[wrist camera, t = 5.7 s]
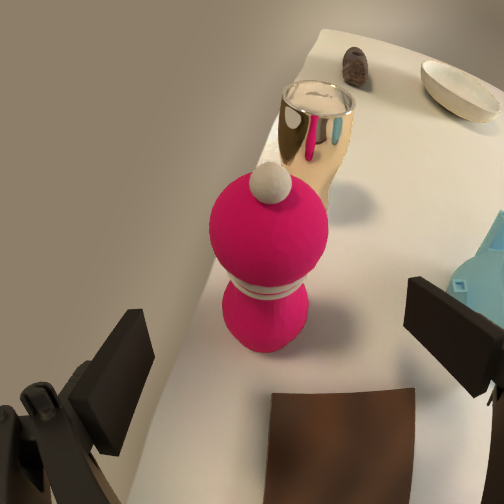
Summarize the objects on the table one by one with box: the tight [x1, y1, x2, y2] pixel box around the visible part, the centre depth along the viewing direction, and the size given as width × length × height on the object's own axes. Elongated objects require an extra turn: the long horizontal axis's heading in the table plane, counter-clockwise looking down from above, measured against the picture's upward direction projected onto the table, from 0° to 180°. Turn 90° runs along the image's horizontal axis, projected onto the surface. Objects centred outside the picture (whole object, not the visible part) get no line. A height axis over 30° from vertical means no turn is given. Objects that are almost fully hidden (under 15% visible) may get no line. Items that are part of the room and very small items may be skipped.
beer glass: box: [278, 80, 356, 212], centre depth 30 cm, size 7×7×15 cm
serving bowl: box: [421, 61, 501, 123], centre depth 48 cm, size 21×21×7 cm
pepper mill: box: [209, 162, 328, 353], centre depth 20 cm, size 7×7×20 cm
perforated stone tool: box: [342, 47, 368, 86], centre depth 52 cm, size 15×5×7 cm, turn 164°
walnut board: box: [263, 387, 415, 504], centre depth 21 cm, size 14×14×1 cm
